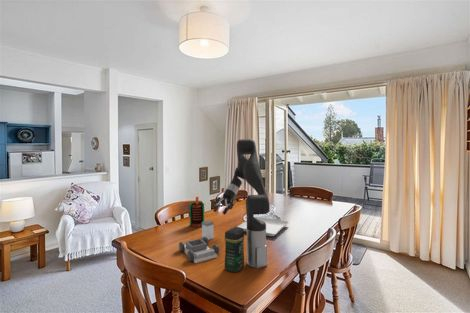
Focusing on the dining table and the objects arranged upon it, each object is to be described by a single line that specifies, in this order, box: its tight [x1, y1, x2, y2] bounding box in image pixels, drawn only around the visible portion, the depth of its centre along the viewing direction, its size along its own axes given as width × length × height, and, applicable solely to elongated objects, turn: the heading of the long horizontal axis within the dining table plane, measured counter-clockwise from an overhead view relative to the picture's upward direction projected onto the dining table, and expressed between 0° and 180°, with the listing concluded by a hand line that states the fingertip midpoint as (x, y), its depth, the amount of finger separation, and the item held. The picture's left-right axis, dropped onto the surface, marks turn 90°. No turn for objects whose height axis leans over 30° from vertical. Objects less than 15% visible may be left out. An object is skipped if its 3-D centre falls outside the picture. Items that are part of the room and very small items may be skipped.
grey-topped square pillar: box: [201, 220, 215, 241], centre depth 154 cm, size 5×5×10 cm
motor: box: [189, 196, 206, 228], centre depth 178 cm, size 10×9×20 cm
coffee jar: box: [224, 226, 245, 273], centre depth 117 cm, size 10×8×19 cm
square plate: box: [236, 216, 290, 237], centre depth 171 cm, size 27×27×4 cm
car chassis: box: [178, 237, 220, 264], centre depth 134 cm, size 20×15×5 cm
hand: (218, 212), depth 161 cm, fingers open, 8 cm apart
